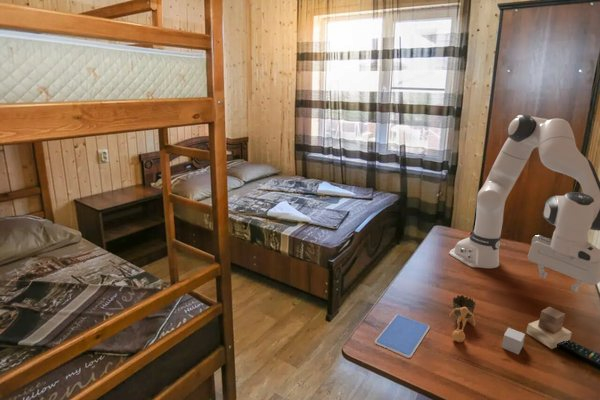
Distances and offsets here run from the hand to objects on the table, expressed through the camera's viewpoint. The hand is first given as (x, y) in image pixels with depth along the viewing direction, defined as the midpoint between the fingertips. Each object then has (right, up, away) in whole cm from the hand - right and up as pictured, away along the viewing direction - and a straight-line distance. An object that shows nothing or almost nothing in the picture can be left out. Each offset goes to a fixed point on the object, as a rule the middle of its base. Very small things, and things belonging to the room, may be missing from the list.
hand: (557, 283), depth 123 cm
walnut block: (+1, -16, +5) cm, 17 cm away
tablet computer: (-48, -20, +8) cm, 53 cm away
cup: (-25, -17, +16) cm, 34 cm away
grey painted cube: (-14, -21, +2) cm, 25 cm away
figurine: (-30, -20, +6) cm, 36 cm away
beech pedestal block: (+1, -20, +6) cm, 21 cm away
